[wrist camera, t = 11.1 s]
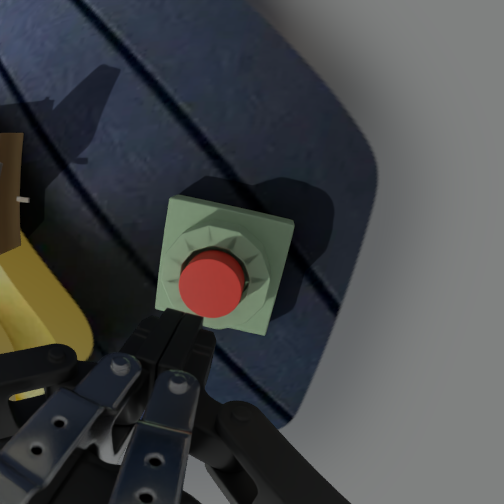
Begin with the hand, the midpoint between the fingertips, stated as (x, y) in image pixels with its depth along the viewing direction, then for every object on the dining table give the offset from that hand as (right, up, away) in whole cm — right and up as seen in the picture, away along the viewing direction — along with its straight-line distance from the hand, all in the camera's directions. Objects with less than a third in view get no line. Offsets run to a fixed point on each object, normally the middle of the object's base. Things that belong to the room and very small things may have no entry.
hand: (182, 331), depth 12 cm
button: (0, +2, +7) cm, 7 cm away
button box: (+1, +2, +10) cm, 10 cm away
